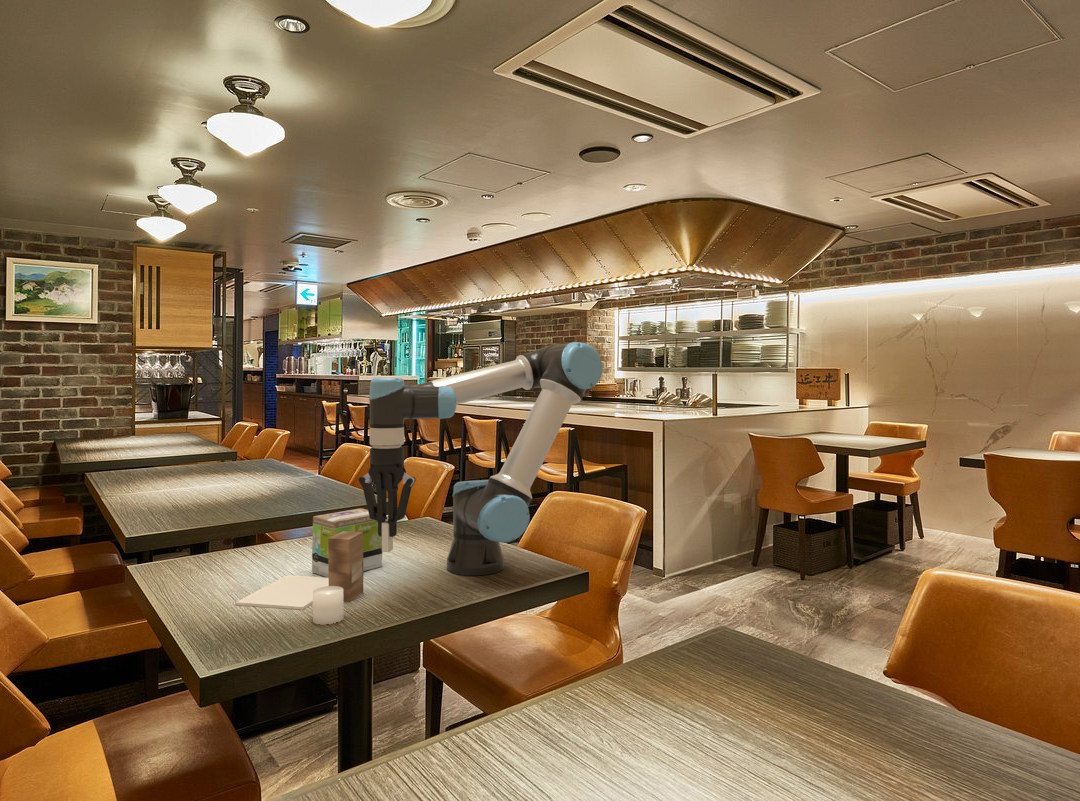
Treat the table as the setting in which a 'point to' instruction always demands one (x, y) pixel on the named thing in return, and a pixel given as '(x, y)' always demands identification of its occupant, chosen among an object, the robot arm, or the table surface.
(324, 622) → the white pillar candle
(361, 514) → the tea box
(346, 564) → the wooden block
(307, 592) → the felt mat
